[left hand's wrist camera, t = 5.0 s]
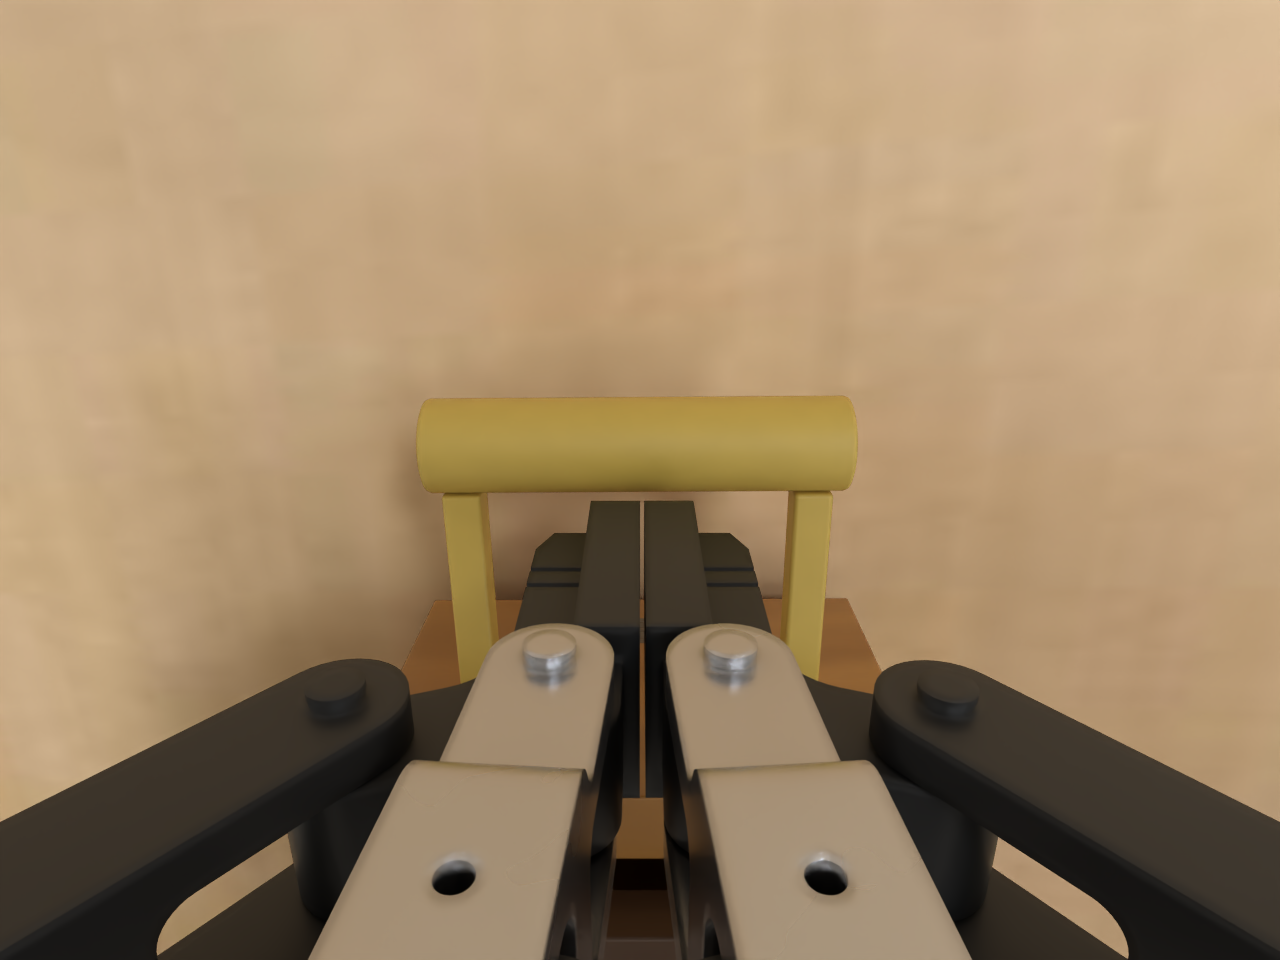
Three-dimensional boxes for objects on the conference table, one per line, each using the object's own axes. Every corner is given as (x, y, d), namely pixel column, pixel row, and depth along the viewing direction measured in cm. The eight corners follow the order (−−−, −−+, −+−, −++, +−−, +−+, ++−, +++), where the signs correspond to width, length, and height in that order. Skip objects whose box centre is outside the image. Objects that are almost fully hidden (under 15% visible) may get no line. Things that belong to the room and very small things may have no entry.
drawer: (407, 349, 16) (277, 449, 10) (870, 346, 16) (994, 445, 10) (497, 1171, 25) (453, 1467, 19) (795, 1171, 24) (839, 1468, 19)
